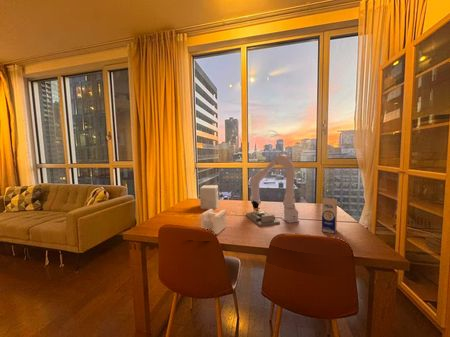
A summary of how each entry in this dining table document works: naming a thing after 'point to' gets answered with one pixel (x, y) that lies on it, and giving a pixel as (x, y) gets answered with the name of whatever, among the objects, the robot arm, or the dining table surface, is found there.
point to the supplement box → (209, 197)
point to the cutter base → (263, 219)
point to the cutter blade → (258, 211)
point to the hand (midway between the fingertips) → (255, 210)
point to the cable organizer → (213, 220)
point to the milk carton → (329, 215)
